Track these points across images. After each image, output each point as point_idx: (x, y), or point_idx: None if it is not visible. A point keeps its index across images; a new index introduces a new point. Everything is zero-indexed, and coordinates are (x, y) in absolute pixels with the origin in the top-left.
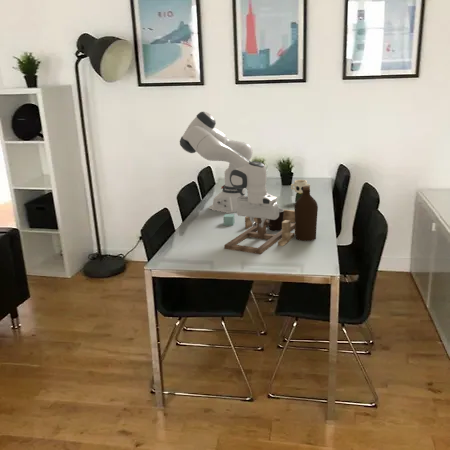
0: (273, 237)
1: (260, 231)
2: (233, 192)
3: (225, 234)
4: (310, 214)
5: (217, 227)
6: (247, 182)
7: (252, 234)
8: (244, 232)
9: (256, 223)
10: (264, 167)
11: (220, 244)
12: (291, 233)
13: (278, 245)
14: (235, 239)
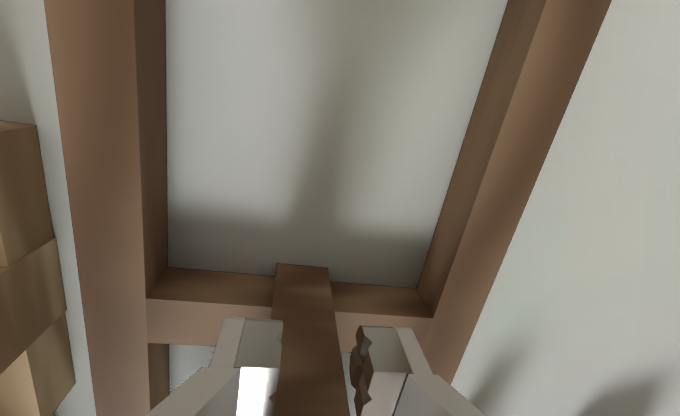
0: (123, 261)
1: (297, 322)
2: None
3: (600, 304)
4: None
5: (648, 399)
6: None
7: (388, 307)
8: (470, 317)
9: (354, 398)
10: None
11: (653, 55)
12: (5, 410)
13: (17, 127)
14: (545, 90)
